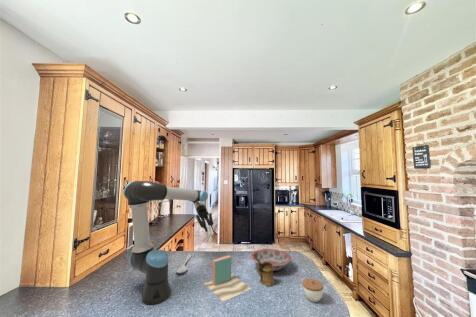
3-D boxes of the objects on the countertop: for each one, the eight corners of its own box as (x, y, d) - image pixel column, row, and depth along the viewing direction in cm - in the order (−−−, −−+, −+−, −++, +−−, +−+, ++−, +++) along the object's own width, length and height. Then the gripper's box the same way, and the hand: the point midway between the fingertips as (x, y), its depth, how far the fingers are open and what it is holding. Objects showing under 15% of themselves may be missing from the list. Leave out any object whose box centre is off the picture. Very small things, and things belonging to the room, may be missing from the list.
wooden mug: (251, 280, 125) (251, 251, 127) (272, 278, 127) (271, 249, 129) (254, 287, 116) (254, 256, 118) (276, 286, 118) (275, 255, 120)
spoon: (185, 276, 131) (185, 272, 132) (173, 276, 131) (173, 272, 131) (194, 257, 166) (194, 253, 166) (185, 257, 166) (185, 253, 166)
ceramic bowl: (290, 280, 124) (289, 267, 125) (246, 274, 133) (245, 261, 134) (292, 261, 151) (292, 251, 152) (256, 257, 161) (255, 247, 161)
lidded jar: (321, 293, 110) (320, 276, 111) (325, 306, 99) (324, 286, 100) (301, 291, 112) (301, 274, 113) (303, 303, 102) (303, 284, 103)
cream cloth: (204, 284, 120) (204, 283, 120) (230, 274, 132) (230, 273, 132) (223, 303, 103) (223, 301, 103) (251, 289, 115) (251, 288, 115)
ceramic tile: (212, 283, 120) (212, 260, 121) (228, 277, 127) (228, 255, 128) (215, 286, 117) (215, 261, 119) (231, 279, 124) (231, 256, 126)
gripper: (207, 209, 157) (218, 235, 142) (190, 211, 148) (199, 240, 133) (210, 203, 153) (222, 229, 138) (193, 205, 144) (203, 233, 130)
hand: (211, 234), depth 136 cm, fingers closed
